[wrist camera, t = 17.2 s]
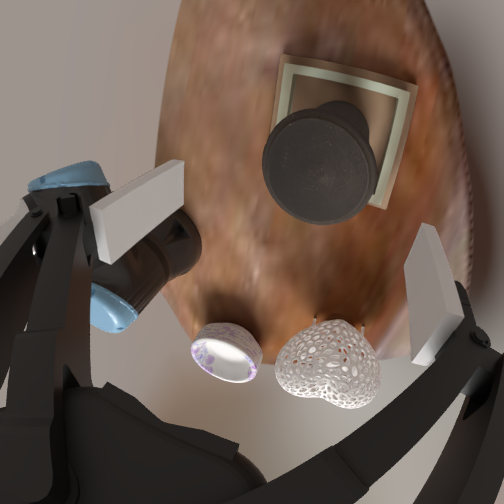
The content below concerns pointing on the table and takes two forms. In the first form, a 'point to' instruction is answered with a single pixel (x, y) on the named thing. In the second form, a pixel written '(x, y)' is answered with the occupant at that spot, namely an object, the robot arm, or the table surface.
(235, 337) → the paper bowls
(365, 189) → the container
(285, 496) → the robot arm
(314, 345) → the decorative heart
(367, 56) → the table surface
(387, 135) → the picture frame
